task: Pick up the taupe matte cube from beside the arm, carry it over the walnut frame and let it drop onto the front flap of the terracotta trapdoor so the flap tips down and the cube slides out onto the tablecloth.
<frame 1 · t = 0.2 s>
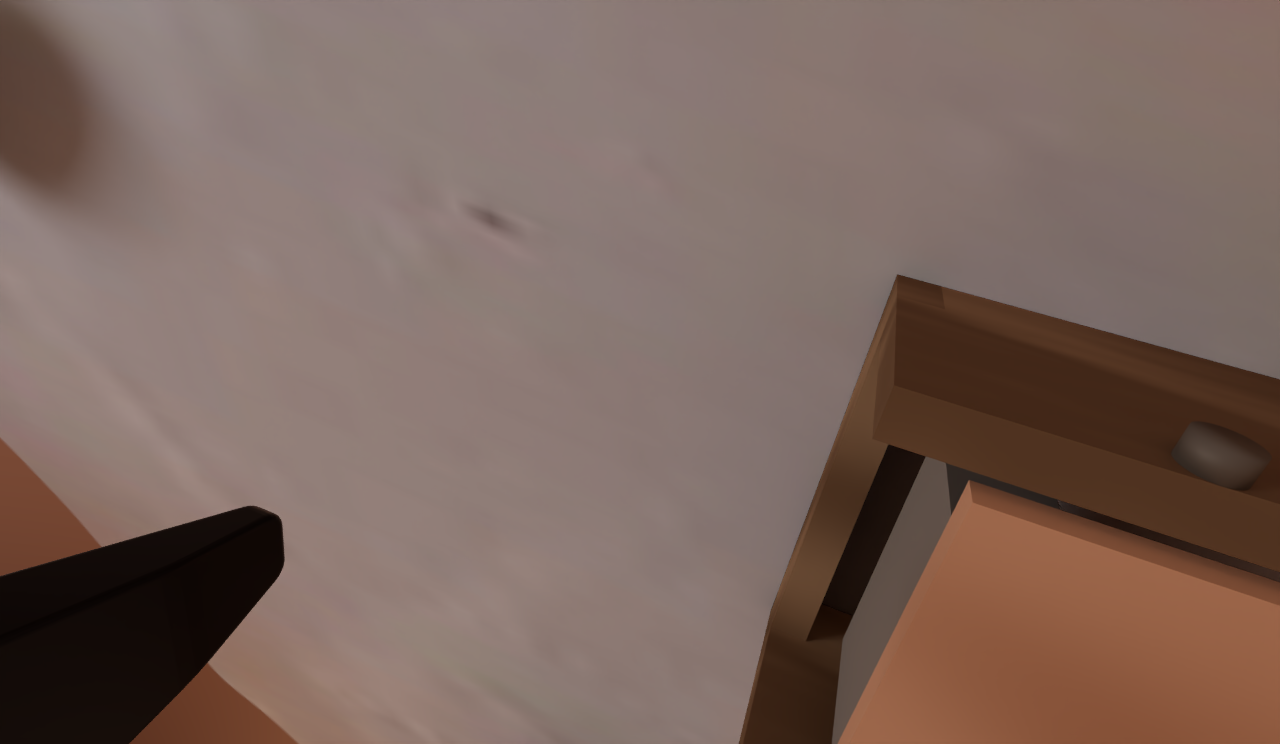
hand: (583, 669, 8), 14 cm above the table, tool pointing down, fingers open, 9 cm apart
trapdoor: (1120, 691, 16), point 5 cm above the table, hinge at 0.0°
trapdoor frame: (1072, 550, 21), on the table
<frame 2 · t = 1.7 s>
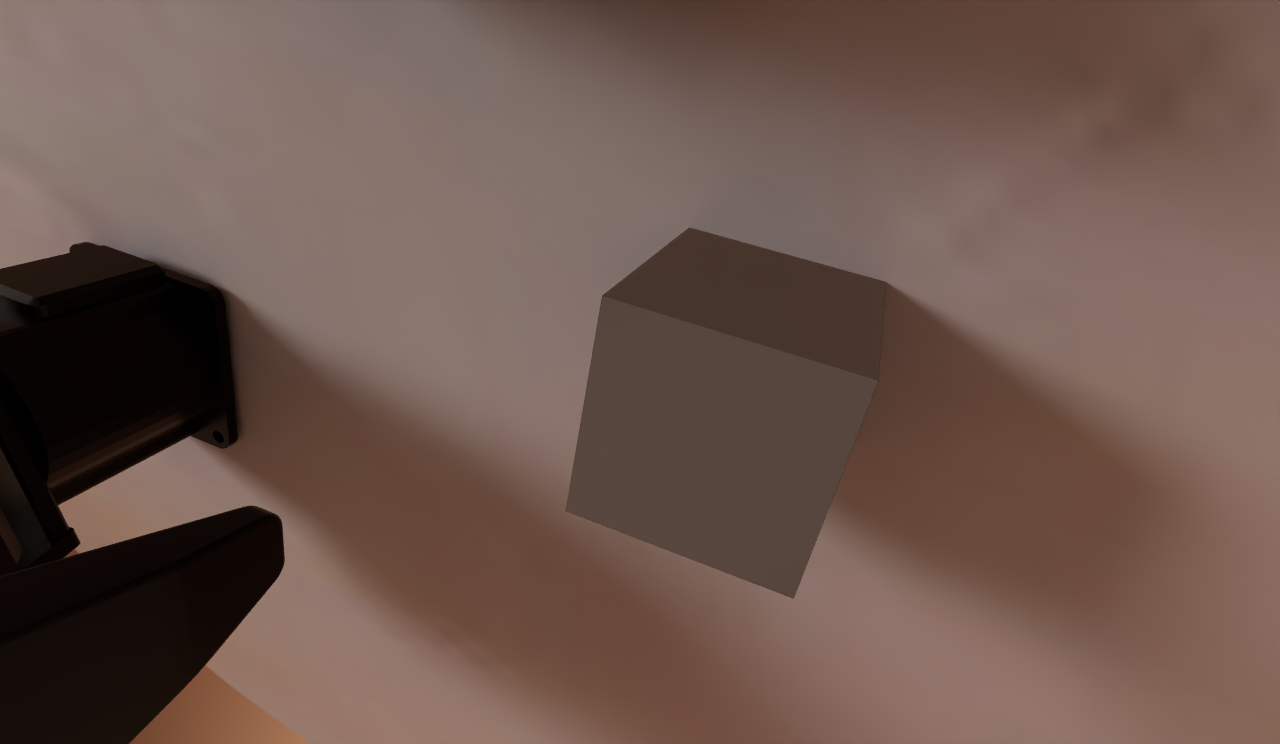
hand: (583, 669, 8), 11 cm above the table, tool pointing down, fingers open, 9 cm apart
taupe matte cube: (758, 343, 18), on the table
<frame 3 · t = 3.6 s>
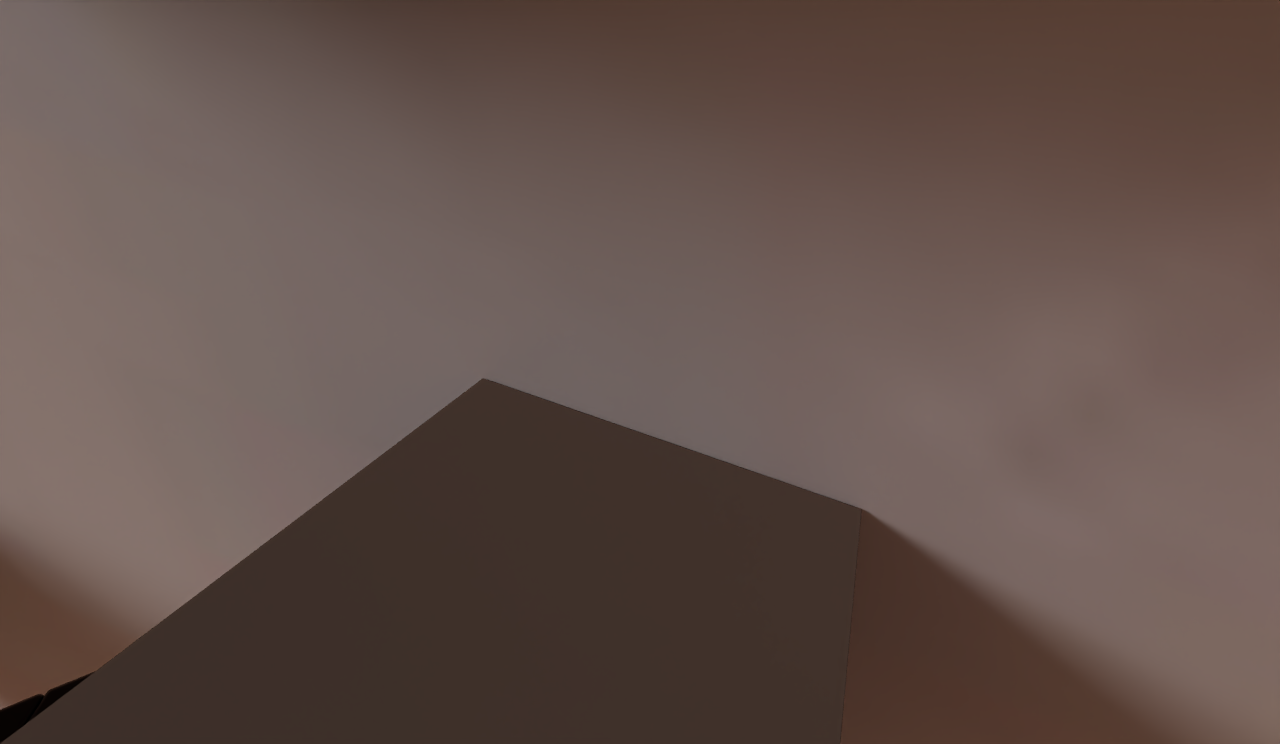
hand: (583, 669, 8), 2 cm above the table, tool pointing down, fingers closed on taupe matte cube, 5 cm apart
taupe matte cube: (626, 587, 10), on the table, touching gripper
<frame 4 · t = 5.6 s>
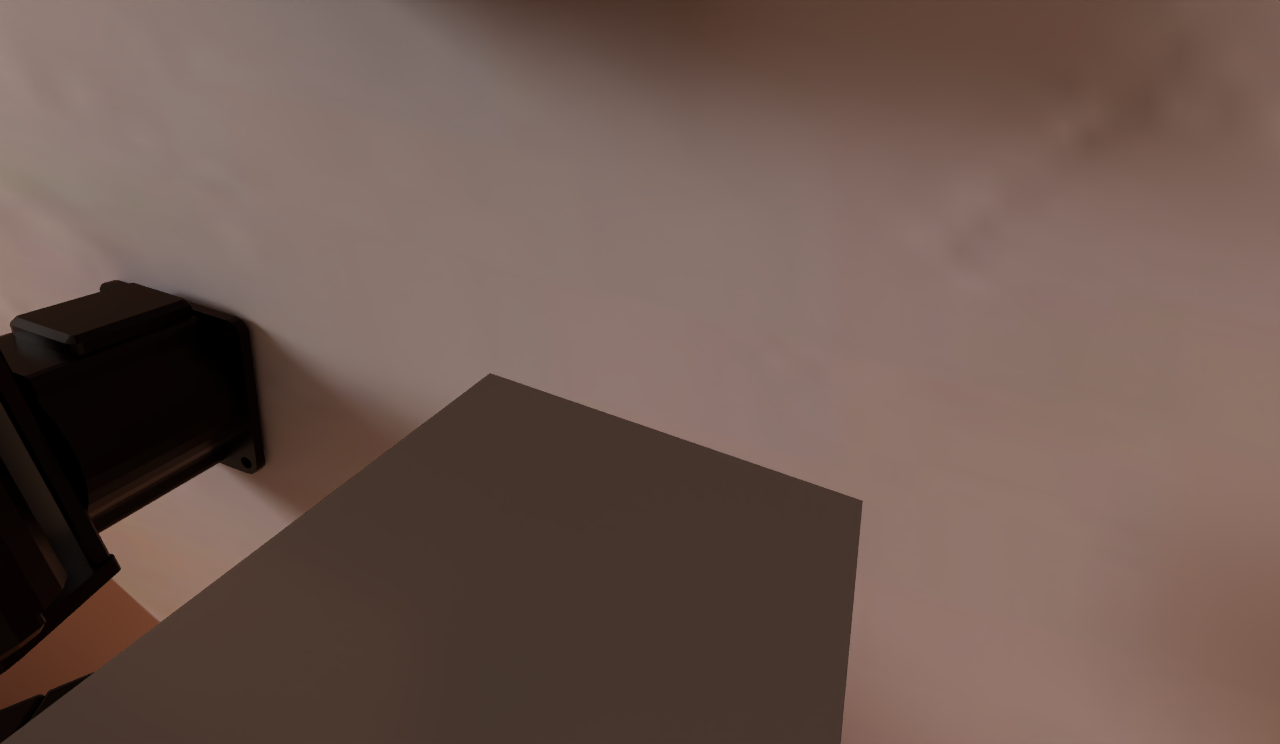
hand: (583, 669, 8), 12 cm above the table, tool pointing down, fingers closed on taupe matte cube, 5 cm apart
taupe matte cube: (630, 579, 10), point 10 cm above the table, touching gripper
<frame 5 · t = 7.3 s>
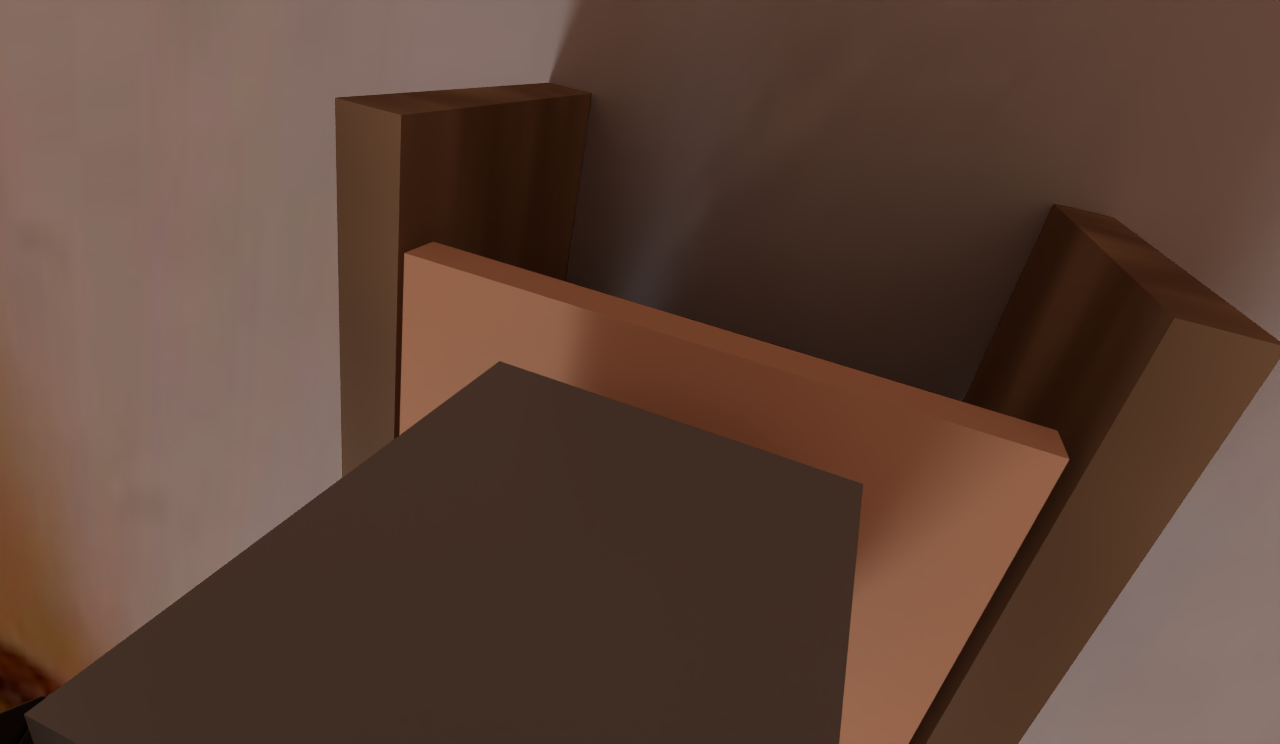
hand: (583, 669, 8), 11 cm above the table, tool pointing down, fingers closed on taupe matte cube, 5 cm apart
taupe matte cube: (636, 563, 10), point 9 cm above the table, touching gripper
trapdoor: (675, 532, 15), point 5 cm above the table, hinge at 0.0°
trapdoor frame: (728, 418, 20), on the table
when the fingers open (11 cm above the table, at t = 7.6 s): taupe matte cube drops 3 cm, resting on trapdoor.
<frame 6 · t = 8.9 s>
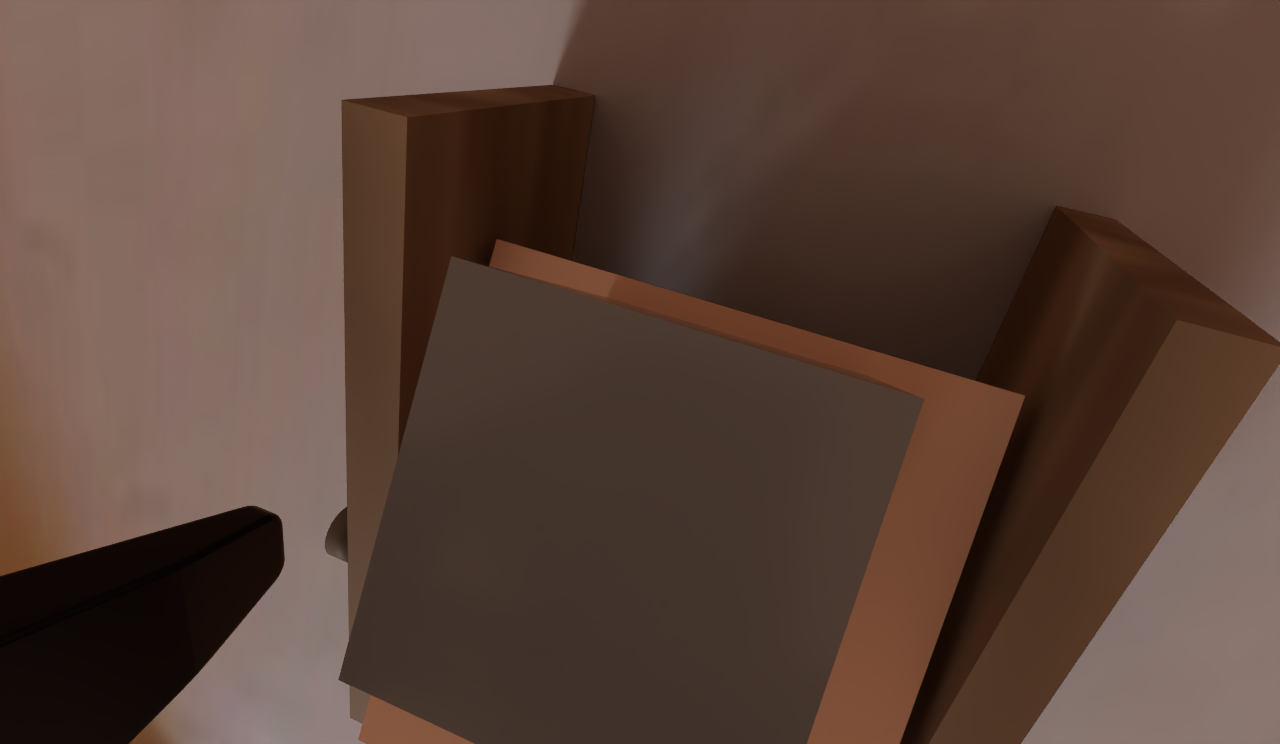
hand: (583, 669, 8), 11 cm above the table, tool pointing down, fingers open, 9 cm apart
taupe matte cube: (692, 463, 13), point 6 cm above the table, tilted 22°, touching trapdoor
trapdoor: (676, 550, 16), point 5 cm above the table, hinge at -22.1°, touching taupe matte cube
trapdoor frame: (731, 419, 20), on the table
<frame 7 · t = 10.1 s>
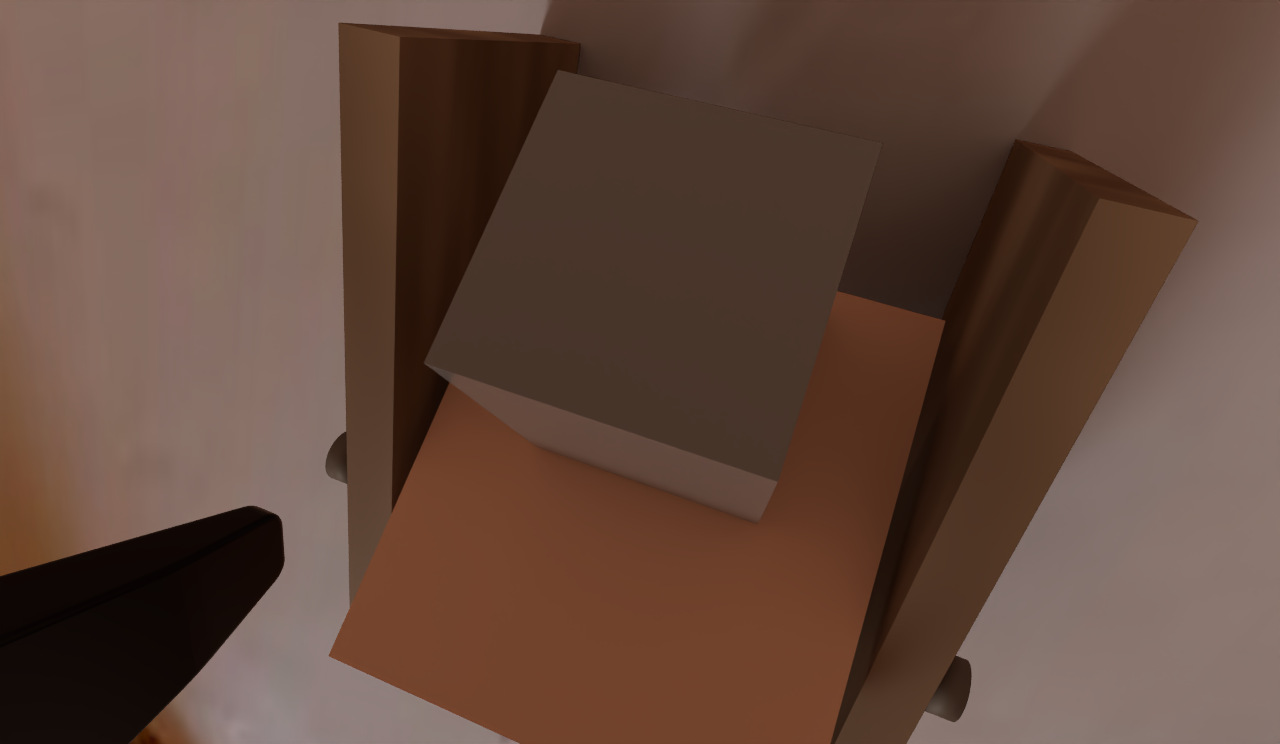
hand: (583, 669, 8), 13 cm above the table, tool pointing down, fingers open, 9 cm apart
taupe matte cube: (681, 376, 15), point 5 cm above the table, tilted 42°, touching trapdoor
trapdoor: (653, 499, 17), point 5 cm above the table, hinge at -41.4°, touching taupe matte cube
trapdoor frame: (714, 359, 20), on the table
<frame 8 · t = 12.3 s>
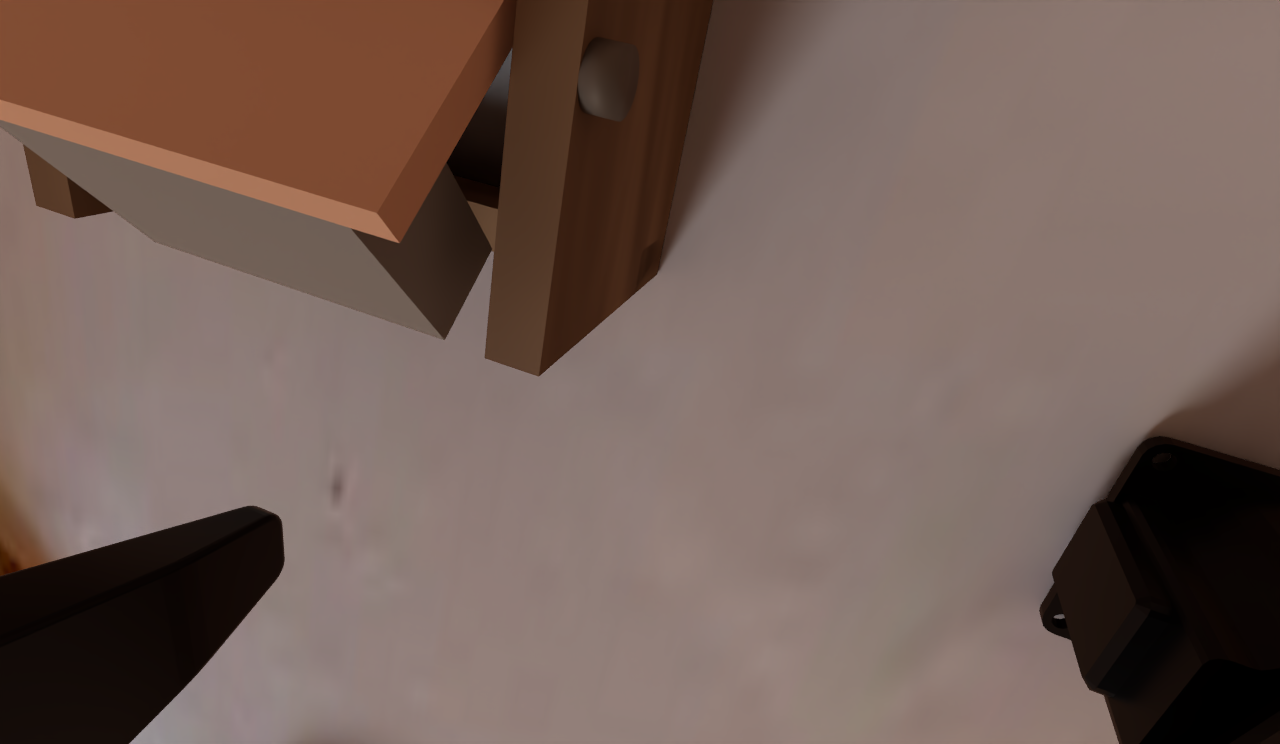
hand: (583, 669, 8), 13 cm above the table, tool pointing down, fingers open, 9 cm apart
trapdoor: (355, 20, 15), point 5 cm above the table, hinge at -46.8°, touching taupe matte cube
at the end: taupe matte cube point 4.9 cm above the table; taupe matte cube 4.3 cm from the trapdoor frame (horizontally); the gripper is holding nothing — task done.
